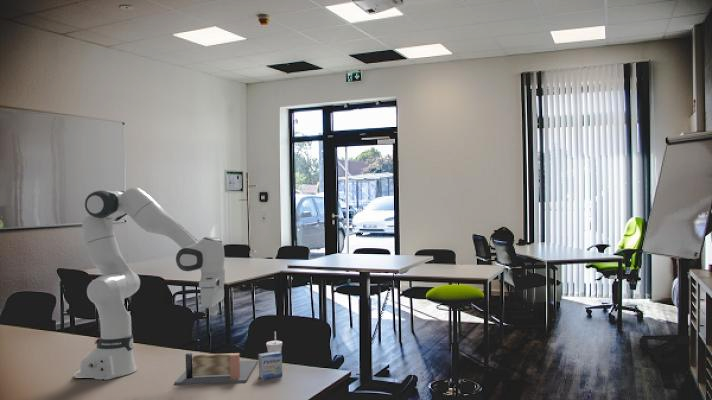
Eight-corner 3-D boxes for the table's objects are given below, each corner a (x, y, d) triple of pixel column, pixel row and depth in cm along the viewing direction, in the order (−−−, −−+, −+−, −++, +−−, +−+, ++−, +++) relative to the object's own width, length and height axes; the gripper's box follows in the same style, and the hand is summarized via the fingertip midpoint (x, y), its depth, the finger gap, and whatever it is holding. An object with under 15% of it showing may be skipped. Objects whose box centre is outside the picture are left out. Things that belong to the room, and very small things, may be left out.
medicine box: (262, 379, 199) (261, 356, 199) (258, 376, 203) (258, 353, 203) (282, 376, 203) (282, 352, 203) (278, 372, 207) (278, 350, 207)
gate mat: (174, 384, 197) (174, 382, 197) (193, 364, 221) (193, 362, 221) (246, 382, 197) (246, 380, 197) (257, 362, 221) (257, 360, 221)
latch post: (230, 381, 198) (229, 355, 198) (232, 379, 201) (231, 353, 201) (238, 381, 198) (237, 355, 198) (240, 378, 201) (239, 353, 201)
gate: (192, 376, 201) (192, 355, 201) (194, 374, 203) (194, 354, 203) (239, 374, 201) (239, 354, 201) (241, 372, 204) (240, 352, 204)
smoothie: (280, 369, 210) (278, 333, 210) (264, 369, 211) (263, 333, 211) (285, 364, 216) (284, 329, 216) (270, 364, 218) (269, 329, 218)
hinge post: (185, 380, 200) (184, 355, 200) (187, 378, 203) (186, 353, 203) (191, 380, 200) (191, 354, 200) (193, 378, 203) (193, 353, 203)
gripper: (212, 275, 219) (212, 310, 219) (197, 283, 199) (198, 321, 199) (227, 275, 219) (228, 309, 219) (214, 283, 199) (215, 321, 199)
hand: (213, 315), depth 209 cm, fingers closed
